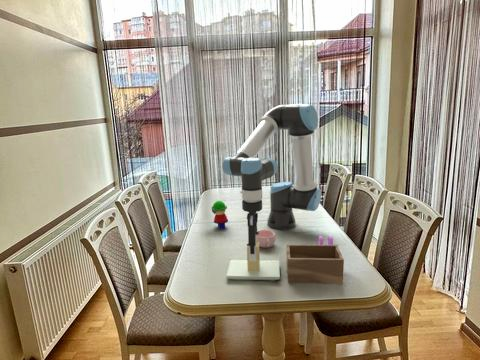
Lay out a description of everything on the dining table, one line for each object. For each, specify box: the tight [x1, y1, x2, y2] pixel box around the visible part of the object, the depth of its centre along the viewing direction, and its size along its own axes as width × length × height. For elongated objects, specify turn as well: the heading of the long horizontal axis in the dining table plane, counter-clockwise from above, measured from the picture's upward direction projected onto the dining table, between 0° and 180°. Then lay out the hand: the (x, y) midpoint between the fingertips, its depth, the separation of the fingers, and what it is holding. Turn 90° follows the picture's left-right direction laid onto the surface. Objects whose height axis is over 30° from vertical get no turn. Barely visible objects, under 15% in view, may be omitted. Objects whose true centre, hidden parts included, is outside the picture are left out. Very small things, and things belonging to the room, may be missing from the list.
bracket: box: [317, 235, 334, 245], centre depth 145 cm, size 13×6×7 cm, turn 178°
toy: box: [211, 200, 229, 230], centre depth 180 cm, size 9×9×15 cm
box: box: [286, 243, 345, 285], centre depth 129 cm, size 13×20×10 cm, turn 84°
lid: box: [226, 242, 281, 281], centre depth 132 cm, size 13×20×12 cm, turn 84°
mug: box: [257, 229, 277, 249], centre depth 156 cm, size 12×10×6 cm
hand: (253, 255), depth 131 cm, fingers open, 8 cm apart
